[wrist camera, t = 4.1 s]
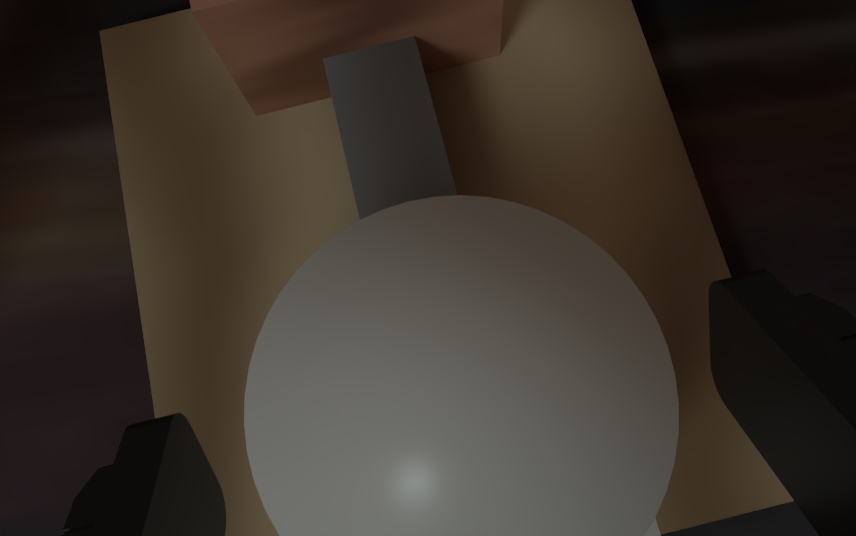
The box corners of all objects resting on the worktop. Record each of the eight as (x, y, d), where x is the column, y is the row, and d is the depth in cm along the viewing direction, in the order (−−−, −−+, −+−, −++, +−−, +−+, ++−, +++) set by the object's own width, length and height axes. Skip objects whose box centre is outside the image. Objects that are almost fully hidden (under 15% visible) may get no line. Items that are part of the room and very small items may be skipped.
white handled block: (374, 584, 18) (92, 925, 5) (330, 375, 19) (16, 173, 6) (617, 523, 18) (1022, 687, 5) (556, 318, 19) (739, -7, 6)
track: (206, 642, 19) (82, 724, 13) (118, 52, 23) (-6, -92, 17) (790, 494, 19) (937, 507, 13) (591, -65, 23) (632, -249, 17)
